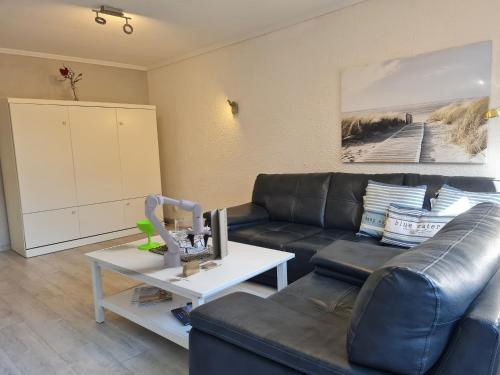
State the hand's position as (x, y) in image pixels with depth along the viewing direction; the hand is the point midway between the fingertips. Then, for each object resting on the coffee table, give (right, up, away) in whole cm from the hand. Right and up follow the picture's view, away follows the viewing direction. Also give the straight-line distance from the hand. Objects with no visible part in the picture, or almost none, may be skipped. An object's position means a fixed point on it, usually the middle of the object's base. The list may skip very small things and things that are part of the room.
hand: (199, 246), depth 211 cm
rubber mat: (-2, -13, -19) cm, 23 cm away
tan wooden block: (-2, -12, -18) cm, 22 cm away
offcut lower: (+6, -11, -7) cm, 14 cm away
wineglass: (-40, -7, +43) cm, 60 cm away
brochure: (+12, -9, +12) cm, 19 cm away
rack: (+5, -11, -6) cm, 13 cm away
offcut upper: (+7, -10, -7) cm, 14 cm away
